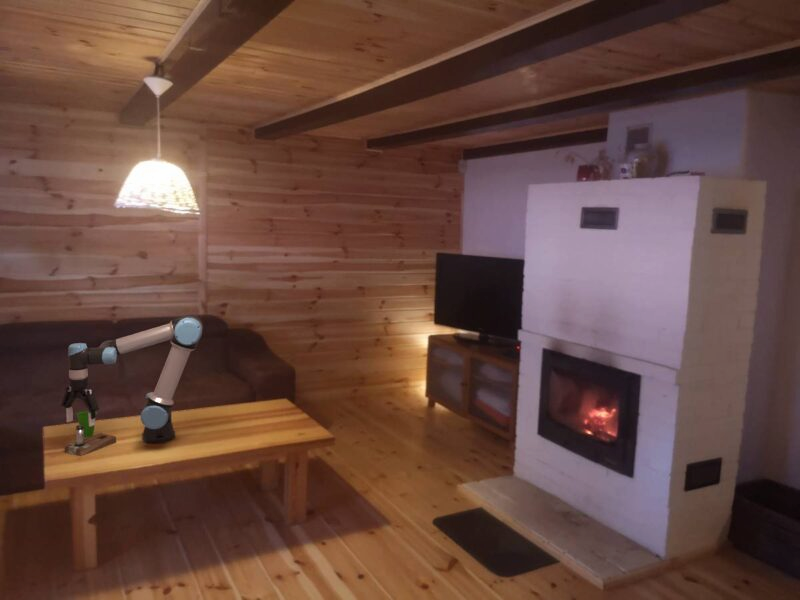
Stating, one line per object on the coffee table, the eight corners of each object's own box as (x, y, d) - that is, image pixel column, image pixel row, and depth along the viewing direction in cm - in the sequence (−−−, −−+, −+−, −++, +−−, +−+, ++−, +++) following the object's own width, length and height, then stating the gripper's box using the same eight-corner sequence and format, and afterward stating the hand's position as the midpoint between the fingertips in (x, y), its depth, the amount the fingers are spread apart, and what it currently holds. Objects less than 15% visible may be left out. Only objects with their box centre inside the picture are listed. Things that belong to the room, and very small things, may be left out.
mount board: (116, 442, 301) (116, 436, 300) (80, 456, 282) (80, 449, 282) (100, 439, 304) (100, 432, 304) (64, 452, 286) (64, 445, 285)
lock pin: (85, 450, 289) (85, 425, 287) (79, 452, 286) (79, 427, 284) (80, 449, 290) (80, 424, 288) (75, 451, 287) (74, 426, 285)
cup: (89, 439, 303) (88, 417, 302) (72, 437, 305) (72, 415, 303) (101, 433, 312) (101, 412, 310) (85, 431, 314) (85, 410, 312)
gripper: (106, 379, 282) (108, 424, 285) (65, 372, 292) (67, 417, 294) (92, 382, 275) (94, 429, 278) (51, 376, 285) (53, 421, 287)
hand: (80, 423), depth 286 cm, fingers open, 13 cm apart
